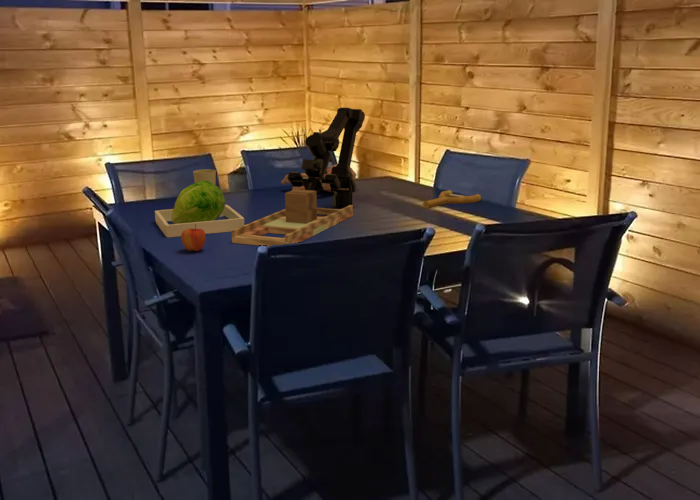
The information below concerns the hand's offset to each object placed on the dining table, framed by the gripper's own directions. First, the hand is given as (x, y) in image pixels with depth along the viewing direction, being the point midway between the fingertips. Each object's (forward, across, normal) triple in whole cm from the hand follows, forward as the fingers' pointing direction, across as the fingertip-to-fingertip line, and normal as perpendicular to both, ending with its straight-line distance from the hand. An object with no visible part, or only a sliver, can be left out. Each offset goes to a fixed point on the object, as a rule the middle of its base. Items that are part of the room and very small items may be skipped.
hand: (306, 200), depth 269 cm
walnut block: (+8, 0, +2) cm, 8 cm away
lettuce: (+18, -34, -6) cm, 39 cm away
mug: (-12, -59, +24) cm, 64 cm away
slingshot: (-31, +35, +43) cm, 64 cm away
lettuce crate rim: (+18, -34, -6) cm, 39 cm away
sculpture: (-36, -22, +47) cm, 63 cm away
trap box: (+12, 0, 0) cm, 12 cm away
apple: (+39, -16, -26) cm, 50 cm away
